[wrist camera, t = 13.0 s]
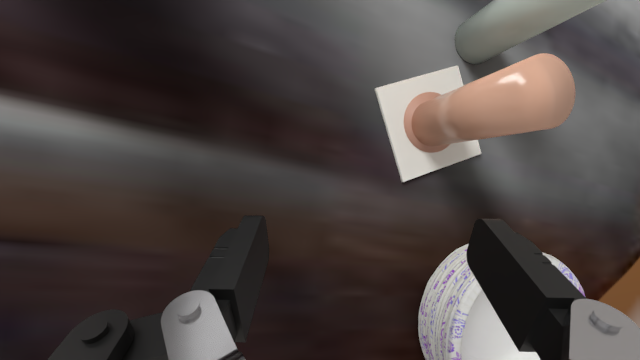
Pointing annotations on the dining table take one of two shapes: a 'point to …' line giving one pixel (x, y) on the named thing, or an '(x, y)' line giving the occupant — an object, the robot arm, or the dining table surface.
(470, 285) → the paper bowls
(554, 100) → the terracotta tube
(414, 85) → the card
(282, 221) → the dining table surface
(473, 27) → the grey-green tube
